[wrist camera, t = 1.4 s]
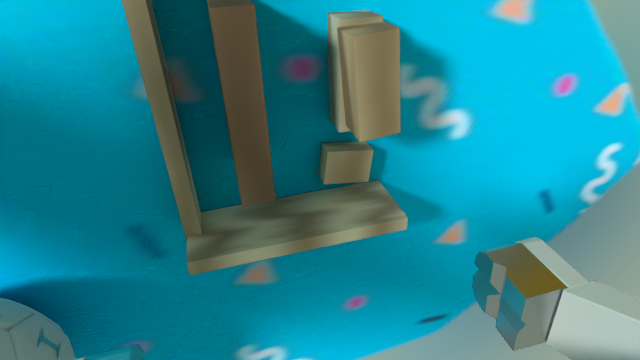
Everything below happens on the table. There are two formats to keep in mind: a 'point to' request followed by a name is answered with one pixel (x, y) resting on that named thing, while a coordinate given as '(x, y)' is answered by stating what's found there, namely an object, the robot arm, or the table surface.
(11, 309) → the puzzle ball
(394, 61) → the offcut
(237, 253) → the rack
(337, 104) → the offcut
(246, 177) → the walnut board
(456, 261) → the table surface
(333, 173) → the offcut
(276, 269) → the table surface
